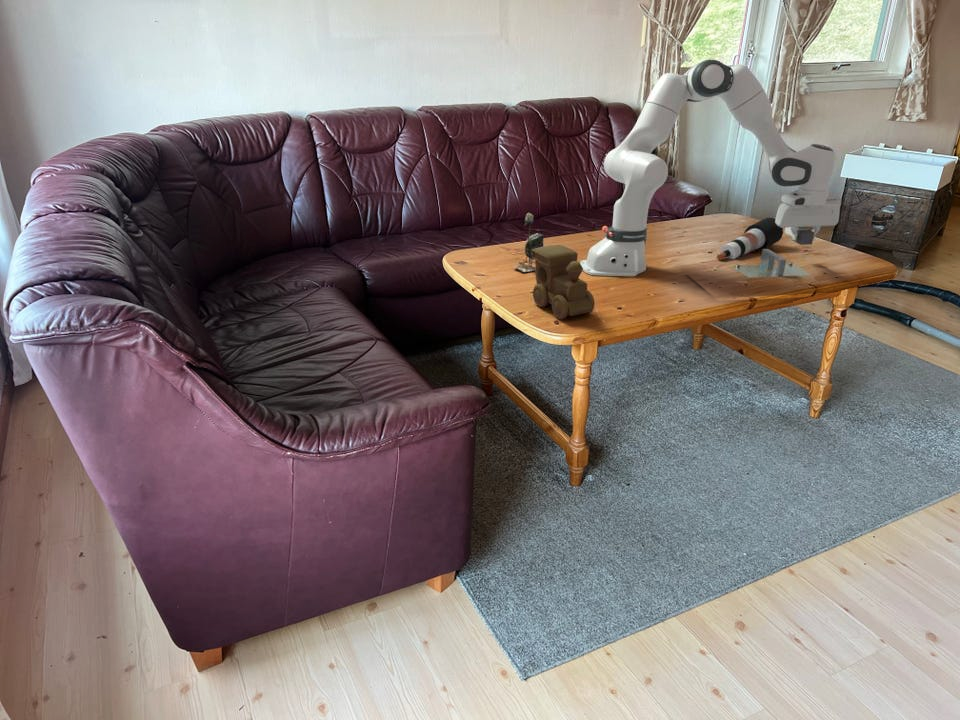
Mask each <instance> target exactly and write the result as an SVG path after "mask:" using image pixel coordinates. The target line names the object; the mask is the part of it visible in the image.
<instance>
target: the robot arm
mask: <svg viewBox="0 0 960 720" xmlns="http://www.w3.org/2000/svg"><path fill="white" fill-rule="evenodd" d="M764 89H765V88H763V86H762V84H761V83H760V81H759V80H758V79H757V77H756V75H755V74H754V73H753V72H752V71H751V70H750V69H749V68H748V66H746V65H744V64H736V65H733V66H729V65H727V64H725V63H723V62H721V61H720V60H718V59H717V60H716V59H706V60H703V61H701V62H699V63H696V64H695V65H693V66H691V68H689V69H688V70H687V71H685V72H684V73H683V74H682V75H681V74H679V73H675V72H666V73H664V74H662V75H661V76H660V77H659V78H658V80H657V82H656V83H655V85H654V86H653V88H652V90H651V91H650V93H649V95H648V97H647V98H646V101H645V103H644V105H643V108H642V110H641V112H640V114H639V115H638V118H637V121H636V123H635V124H634V126H633V128H632V130H630V132H629V134H627V136H626V137H625V138H624V139H623V140H622V142H621V143H620V144H619V145H618V146H616V147H615V148H614V149H611V150H610V151H609V152H608V153H607V154H606V156H605V159H604V162H603V170H604V172H605V174H606V175H607V176H608V177H610V178H611V179H612V180H614V181H615V182H619V183H622V184H625V188H624V191H623V194H622V196H621V197H620V198H619V199H617V200H616V201H615V203H614V205H613V213H612V215H613V216H612V225H611V226H609V227H608V226H607V225H604V226H602V228H601V230H602V232H603V233H604V234H605V237H603V238H602V239H601V240H600V241H598V242H597V243H595V244H594V245H592V246H591V247H590V248H589V250H588V252H587V257H586V259H584V260H580V261H579V262H580V264H581V266H582V267H583V271H582V272H584V273H586V274H588V275H590V276H606V277H607V276H611V277H636V276H638V274H642V273H644V272H646V270H647V263H646V257H645V255H646V254H645V249H646V248H645V246H646V244H647V243H646V241H647V239H648V238H647V236H648V228H647V223H648V222H647V221H648V213H649V208H650V204H651V201H652V199H653V196H654V195H655V192H656V191H657V190H658V189H660V188H661V187H662V186H663V185H664V183H665V182H666V181H667V179H668V175H669V167H668V165H667V163H666V162H665V160H664V159H663V158H660V157H659V156H658V155H656V154H654V153H652V152H653V151H654V150H655V149H656V148H657V147H658V146H660V145H661V144H663V143H664V142H666V141H667V140H668V138H669V137H670V134H671V132H672V130H673V128H674V126H675V123H676V121H677V119H678V117H679V115H680V112H681V109H682V108H683V106H684V105H685V103H686V102H692V103H697V102H699V103H700V102H702V101H706V100H709V99H712V98H713V97H718V98H720V99H722V100H723V102H725V104H726V107H727V108H728V110H729V111H730V113H731V114H732V115H731V116H732V117H734V119H735V120H736V121H737V122H738V124H739V125H740V126H741V127H742V128H743V129H745V130H747V131H749V132H751V133H752V134H753V135H754V136H755V137H756V139H757V140H758V142H759V143H760V145H761V147H762V148H763V151H764V152H765V154H766V155H767V159H768V169H769V173H770V174H771V178H772V180H773V182H774V183H775V184H776V185H778V186H780V187H796V186H798V189H796V190H794V191H791V192H789V193H786V194H783V195H782V196H781V202H782V203H781V204H779V206H778V209H777V210H776V211H777V212H776V216H775V219H776V220H775V223H776V225H777V226H779V227H781V228H783V229H784V228H785V227H791V231H792V234H793V236H791V238H792V240H799V237H800V235H799V234H797V231H796V230H798V228H808V227H810V228H811V227H812V228H813V229H811V231H813V232H815V233H814V237H813V240H815V239H816V235H817V233H819V231H820V230H821V227H829V226H830V227H831V226H837V224H838V223H839V221H840V220H839V219H840V211H841V205H842V199H841V198H839V197H838V196H829V192H830V180H831V179H832V177H833V173H834V169H835V161H836V152H834V151H835V150H833V149H832V148H831V147H829V146H826V145H823V144H818V143H817V144H816V143H812V144H810V145H809V146H806V147H805V148H803V149H801V150H798V151H796V150H794V149H792V148H791V147H790V146H788V145H787V143H786V142H785V140H784V139H783V137H782V135H781V134H780V132H779V130H778V128H777V127H776V125H775V122H774V117H773V108H772V105H771V103H770V100H769V97H768V95H767V93H766V91H765V90H764Z"/></svg>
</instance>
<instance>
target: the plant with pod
mask: <svg viewBox="0 0 960 720" xmlns="http://www.w3.org/2000/svg"><path fill="white" fill-rule="evenodd" d="M534 218H535V217H534V215H533V214H532V213H530V212H528V213H526V214H525V217H524V222H525V223H524V226H526V225H529V227H528V237H527V239H526V241H525V244H524V255H525V256H526V257H525V258H526V259H525V260H521V261H519V263H518V264H516V265H515V266H514V267H513V269H517V270H519V271H520V272H523V273H527V272H528V273H529V272H533V271H535V265H533V261H535V260H534V259H533V258H532V249H535V248H539V247H544V235H545V234H544V233H543V234H541V233H537V232H536V233H533V234H532V235H531V229H532V227H531V225H533V222H534ZM527 259H528V260H527ZM532 265H533V266H532Z"/></svg>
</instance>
